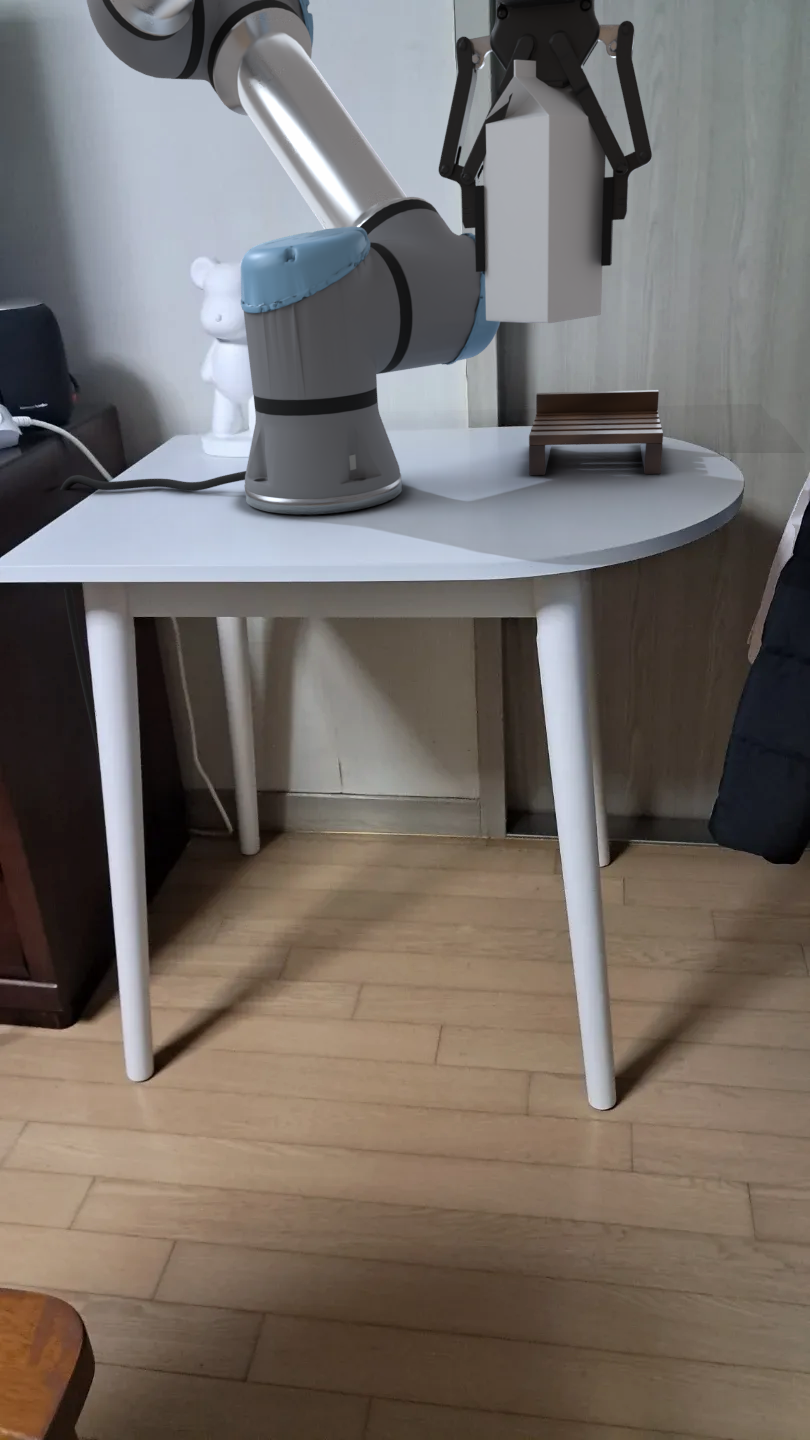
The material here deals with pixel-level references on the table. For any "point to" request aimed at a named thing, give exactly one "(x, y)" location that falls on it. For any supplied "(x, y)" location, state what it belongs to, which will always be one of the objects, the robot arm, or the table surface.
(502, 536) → the table surface
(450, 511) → the table surface
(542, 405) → the wooden bench
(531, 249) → the milk carton
